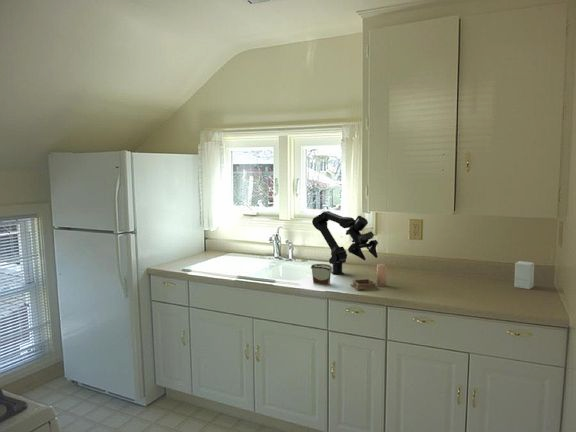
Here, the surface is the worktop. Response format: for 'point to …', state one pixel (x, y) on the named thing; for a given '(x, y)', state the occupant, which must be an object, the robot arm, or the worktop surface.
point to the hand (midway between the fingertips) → (371, 258)
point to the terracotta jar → (381, 275)
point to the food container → (321, 273)
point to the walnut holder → (364, 285)
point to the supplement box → (524, 274)
